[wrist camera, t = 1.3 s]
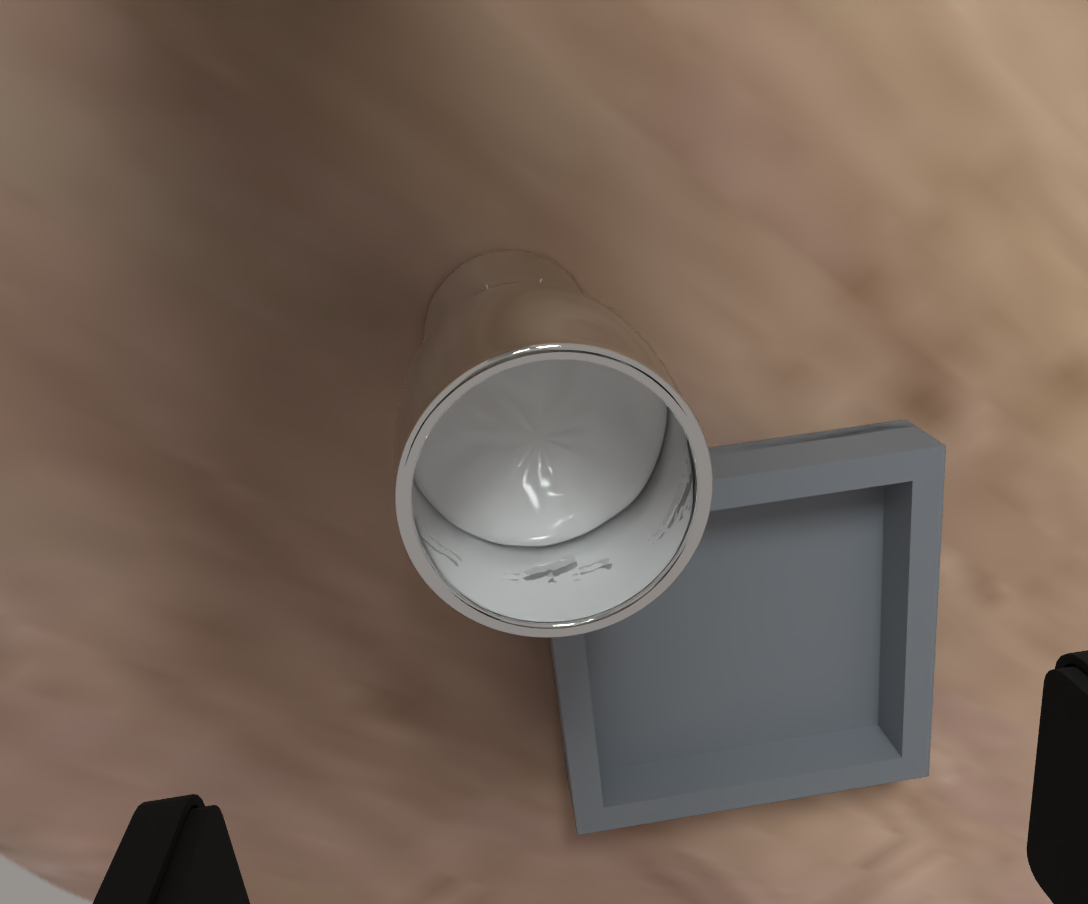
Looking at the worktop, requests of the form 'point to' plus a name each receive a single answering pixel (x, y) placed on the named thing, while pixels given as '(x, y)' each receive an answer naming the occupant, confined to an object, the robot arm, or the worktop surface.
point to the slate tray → (770, 639)
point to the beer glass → (543, 455)
